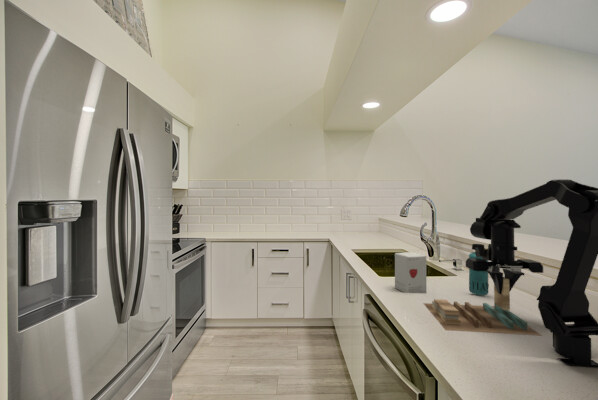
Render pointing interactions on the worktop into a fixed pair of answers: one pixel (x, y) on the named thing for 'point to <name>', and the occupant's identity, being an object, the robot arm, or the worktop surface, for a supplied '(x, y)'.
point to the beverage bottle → (478, 277)
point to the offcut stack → (446, 311)
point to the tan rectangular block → (503, 295)
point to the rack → (485, 320)
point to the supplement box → (410, 272)
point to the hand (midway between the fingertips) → (503, 293)
